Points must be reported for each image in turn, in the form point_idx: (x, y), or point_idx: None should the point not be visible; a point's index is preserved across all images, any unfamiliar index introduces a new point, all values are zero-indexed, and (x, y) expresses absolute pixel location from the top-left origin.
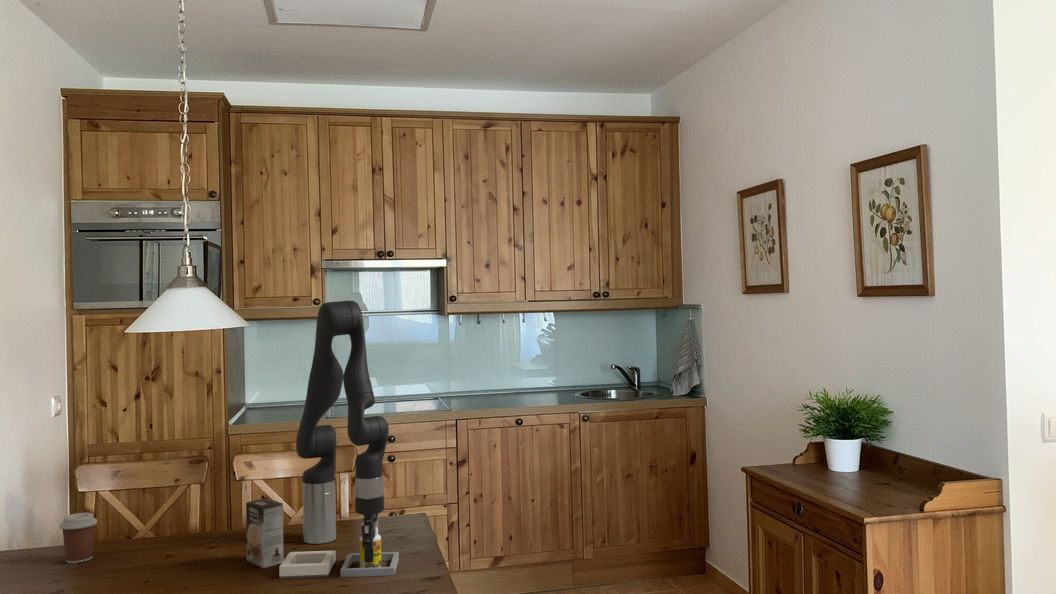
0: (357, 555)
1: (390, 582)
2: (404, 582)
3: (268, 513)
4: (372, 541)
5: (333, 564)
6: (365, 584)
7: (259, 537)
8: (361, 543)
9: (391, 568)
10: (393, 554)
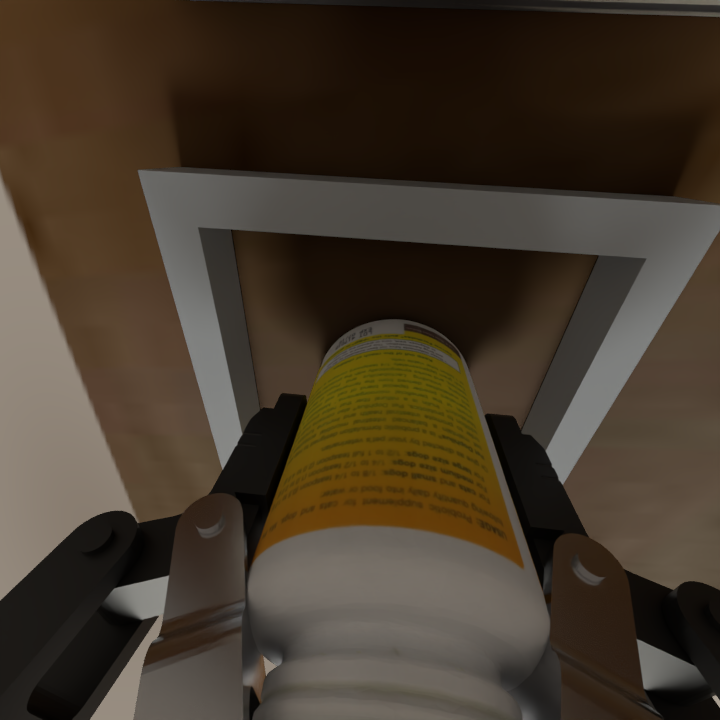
0: (616, 307)
1: (149, 455)
2: (161, 496)
3: None
4: (131, 647)
5: (565, 5)
6: (87, 355)
7: None
8: (291, 509)
9: None
10: None
